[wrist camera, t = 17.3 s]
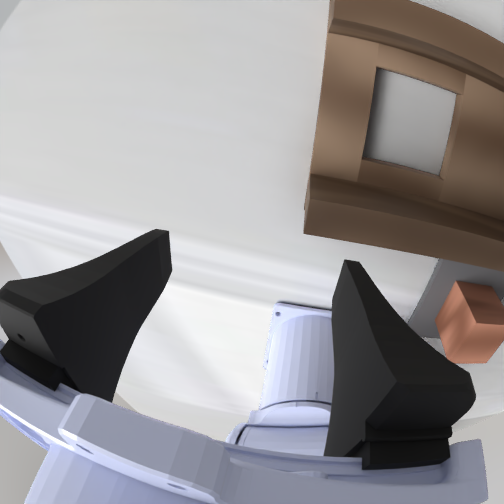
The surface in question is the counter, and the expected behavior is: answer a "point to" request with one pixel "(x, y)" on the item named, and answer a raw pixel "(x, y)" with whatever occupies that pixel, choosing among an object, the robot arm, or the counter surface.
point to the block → (471, 323)
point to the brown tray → (400, 177)
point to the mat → (441, 288)
